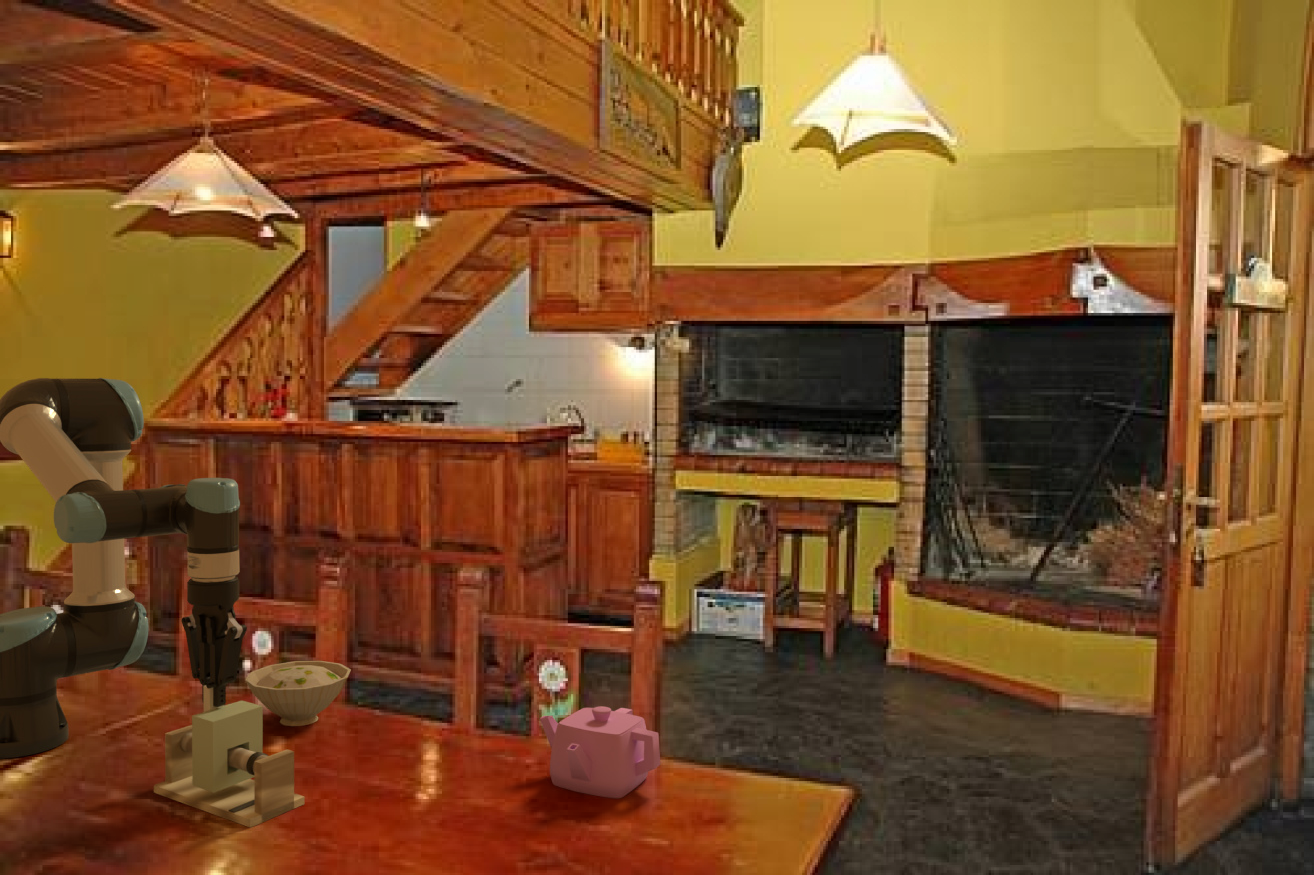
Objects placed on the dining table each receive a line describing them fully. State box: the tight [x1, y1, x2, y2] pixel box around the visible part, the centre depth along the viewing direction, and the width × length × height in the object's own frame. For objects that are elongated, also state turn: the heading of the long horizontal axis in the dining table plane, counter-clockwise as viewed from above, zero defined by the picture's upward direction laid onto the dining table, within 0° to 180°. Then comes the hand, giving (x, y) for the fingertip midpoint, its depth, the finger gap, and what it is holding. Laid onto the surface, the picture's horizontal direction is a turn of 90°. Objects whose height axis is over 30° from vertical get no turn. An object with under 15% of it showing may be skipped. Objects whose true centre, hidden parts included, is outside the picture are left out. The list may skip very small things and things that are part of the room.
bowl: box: [245, 660, 352, 727], centre depth 200 cm, size 19×19×10 cm
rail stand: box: [153, 724, 305, 828], centre depth 164 cm, size 23×10×9 cm, turn 60°
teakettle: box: [539, 705, 661, 799], centre depth 174 cm, size 17×17×12 cm
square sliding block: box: [191, 699, 264, 793], centre depth 163 cm, size 5×9×11 cm, turn 150°
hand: (214, 724), depth 165 cm, fingers closed
